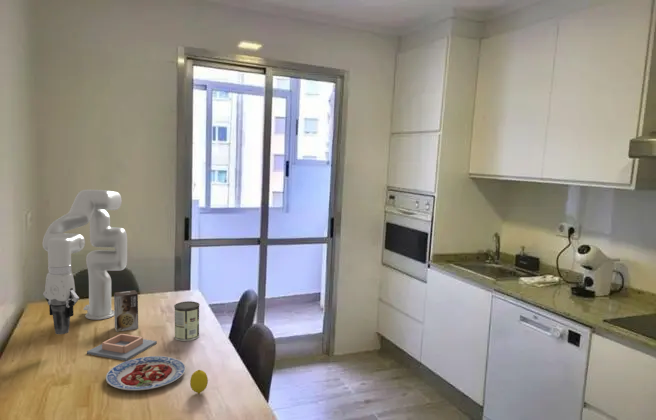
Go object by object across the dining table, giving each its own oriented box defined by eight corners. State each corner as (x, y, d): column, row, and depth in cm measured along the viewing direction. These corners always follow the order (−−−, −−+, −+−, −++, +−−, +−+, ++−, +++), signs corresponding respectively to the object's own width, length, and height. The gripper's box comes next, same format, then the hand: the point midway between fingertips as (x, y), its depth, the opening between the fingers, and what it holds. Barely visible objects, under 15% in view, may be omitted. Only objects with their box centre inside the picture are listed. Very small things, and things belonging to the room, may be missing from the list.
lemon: (192, 389, 154) (192, 366, 153) (209, 389, 155) (209, 366, 154) (188, 397, 149) (188, 373, 148) (206, 397, 149) (206, 373, 148)
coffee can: (184, 330, 206) (184, 300, 204) (203, 334, 202) (204, 303, 201) (168, 338, 196) (169, 306, 195) (189, 342, 193) (189, 309, 191)
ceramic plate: (127, 360, 175) (127, 352, 175) (195, 363, 174) (195, 355, 174) (90, 393, 149) (90, 384, 149) (169, 397, 148) (169, 389, 148)
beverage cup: (77, 329, 181) (75, 279, 178) (64, 336, 174) (63, 284, 171) (59, 327, 182) (57, 278, 179) (46, 335, 175) (44, 283, 172)
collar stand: (86, 353, 178) (86, 345, 178) (119, 337, 195) (119, 329, 195) (126, 360, 173) (126, 351, 173) (156, 343, 191) (156, 335, 190)
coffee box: (135, 324, 212) (135, 289, 210) (138, 328, 206) (138, 293, 204) (114, 327, 207) (113, 292, 205) (116, 332, 201) (115, 295, 200)
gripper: (33, 269, 173) (35, 315, 176) (70, 274, 169) (72, 322, 171) (50, 265, 181) (51, 309, 183) (86, 270, 176) (87, 315, 178)
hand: (61, 315), depth 177 cm, fingers closed on beverage cup, 6 cm apart
